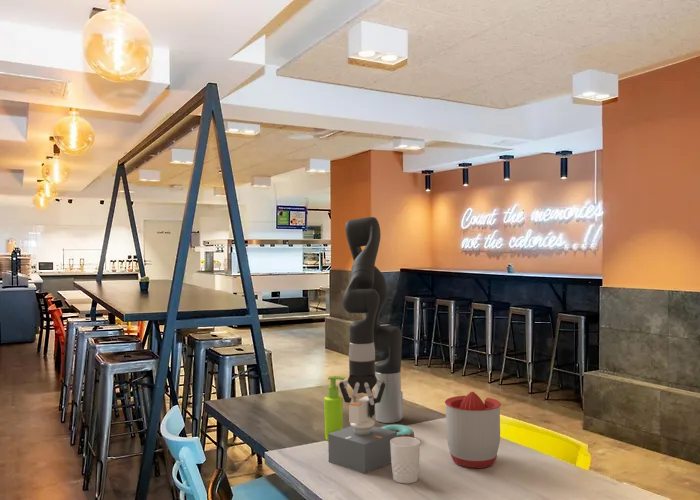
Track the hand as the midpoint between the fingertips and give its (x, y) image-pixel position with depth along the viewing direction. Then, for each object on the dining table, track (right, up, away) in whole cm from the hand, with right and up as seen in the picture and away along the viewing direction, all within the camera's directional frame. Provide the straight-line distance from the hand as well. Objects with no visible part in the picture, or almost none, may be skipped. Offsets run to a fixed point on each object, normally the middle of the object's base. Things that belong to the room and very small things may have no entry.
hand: (362, 416), depth 169 cm
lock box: (0, -13, 0) cm, 13 cm away
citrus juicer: (+32, -12, -1) cm, 34 cm away
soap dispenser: (-8, -13, +20) cm, 25 cm away
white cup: (+11, -13, -14) cm, 22 cm away
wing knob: (0, -2, 0) cm, 2 cm away
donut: (+11, -13, +17) cm, 24 cm away
